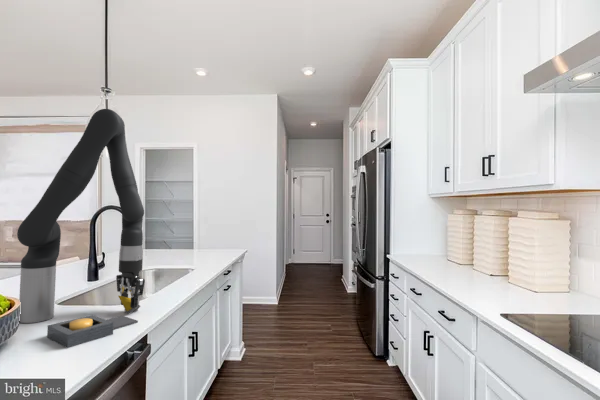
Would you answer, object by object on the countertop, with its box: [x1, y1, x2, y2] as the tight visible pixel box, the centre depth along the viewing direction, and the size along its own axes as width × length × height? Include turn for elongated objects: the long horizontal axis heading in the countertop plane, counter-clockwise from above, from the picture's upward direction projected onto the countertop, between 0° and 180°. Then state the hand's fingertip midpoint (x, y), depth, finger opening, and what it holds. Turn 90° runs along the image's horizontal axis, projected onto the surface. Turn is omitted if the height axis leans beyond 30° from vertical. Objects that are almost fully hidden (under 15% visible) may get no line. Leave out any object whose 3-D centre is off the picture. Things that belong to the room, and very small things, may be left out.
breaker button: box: [69, 318, 93, 331], centre depth 96 cm, size 6×6×2 cm
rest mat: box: [106, 315, 139, 331], centre depth 107 cm, size 9×9×1 cm
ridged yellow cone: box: [118, 295, 141, 314], centre depth 118 cm, size 5×5×10 cm
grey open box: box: [46, 314, 114, 349], centre depth 96 cm, size 12×12×4 cm
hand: (129, 305), depth 118 cm, fingers closed on ridged yellow cone, 5 cm apart
